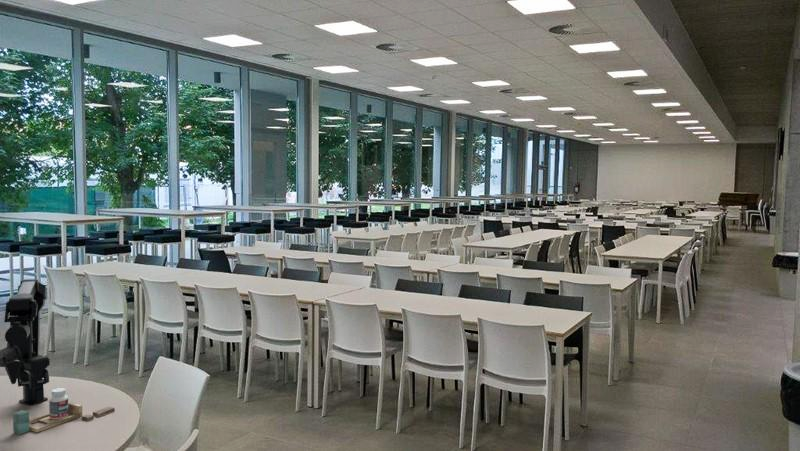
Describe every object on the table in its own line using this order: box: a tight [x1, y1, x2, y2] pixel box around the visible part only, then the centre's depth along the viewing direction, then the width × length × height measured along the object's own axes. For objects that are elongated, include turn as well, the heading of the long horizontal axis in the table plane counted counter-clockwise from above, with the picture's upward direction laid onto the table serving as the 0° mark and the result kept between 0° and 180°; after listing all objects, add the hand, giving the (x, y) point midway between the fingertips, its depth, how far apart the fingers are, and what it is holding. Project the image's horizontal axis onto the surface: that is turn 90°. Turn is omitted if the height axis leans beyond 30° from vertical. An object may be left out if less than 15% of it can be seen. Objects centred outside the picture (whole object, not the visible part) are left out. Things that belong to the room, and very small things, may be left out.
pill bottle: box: [48, 387, 69, 420], centre depth 202 cm, size 5×5×9 cm
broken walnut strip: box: [81, 406, 115, 422], centre depth 206 cm, size 3×10×1 cm, turn 154°
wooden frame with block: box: [12, 401, 84, 435], centre depth 198 cm, size 9×19×6 cm, turn 154°
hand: (22, 386), depth 197 cm, fingers open, 9 cm apart
